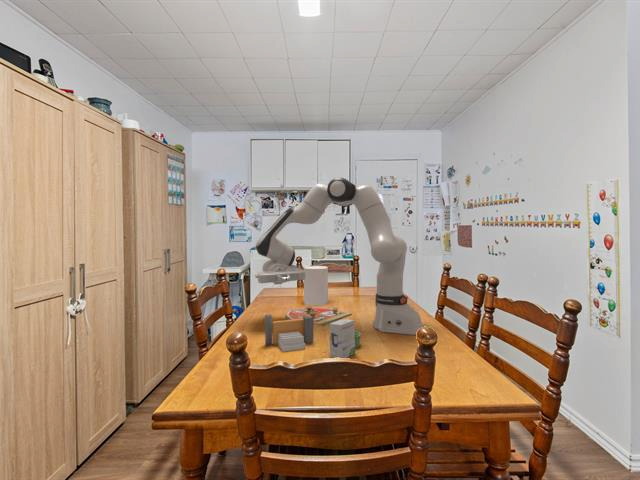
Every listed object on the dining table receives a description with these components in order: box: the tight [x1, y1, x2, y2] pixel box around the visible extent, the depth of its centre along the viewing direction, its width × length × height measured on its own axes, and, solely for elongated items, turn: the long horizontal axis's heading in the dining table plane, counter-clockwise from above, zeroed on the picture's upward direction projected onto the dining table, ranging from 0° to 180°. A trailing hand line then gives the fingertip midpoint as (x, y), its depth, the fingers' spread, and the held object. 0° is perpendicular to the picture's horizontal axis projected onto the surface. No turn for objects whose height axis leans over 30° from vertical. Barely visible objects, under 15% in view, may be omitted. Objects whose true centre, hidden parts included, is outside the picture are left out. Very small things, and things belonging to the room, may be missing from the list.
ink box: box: [328, 318, 356, 359], centre depth 127 cm, size 9×5×12 cm, turn 141°
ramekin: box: [355, 330, 362, 349], centre depth 138 cm, size 9×9×4 cm
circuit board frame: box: [264, 314, 314, 353], centre depth 138 cm, size 20×20×12 cm
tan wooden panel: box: [272, 319, 304, 345], centre depth 138 cm, size 14×2×8 cm, turn 110°
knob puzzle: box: [285, 305, 353, 326], centre depth 181 cm, size 29×30×4 cm
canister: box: [303, 265, 329, 307], centre depth 209 cm, size 14×14×20 cm
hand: (286, 279), depth 152 cm, fingers closed
